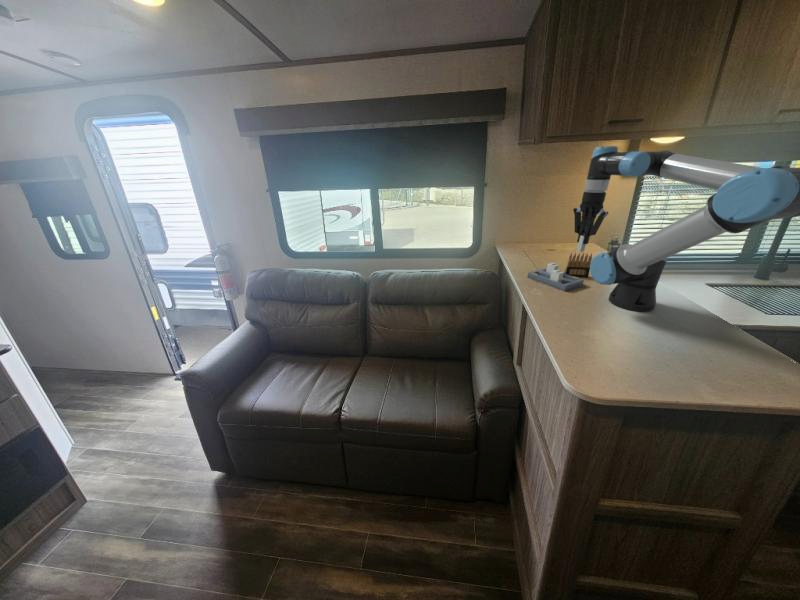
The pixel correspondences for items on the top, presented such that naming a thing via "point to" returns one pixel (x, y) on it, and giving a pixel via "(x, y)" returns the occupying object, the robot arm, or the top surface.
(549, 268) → the tab
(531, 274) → the switch bank
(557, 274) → the tab
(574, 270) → the ammunition clip
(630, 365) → the top surface
